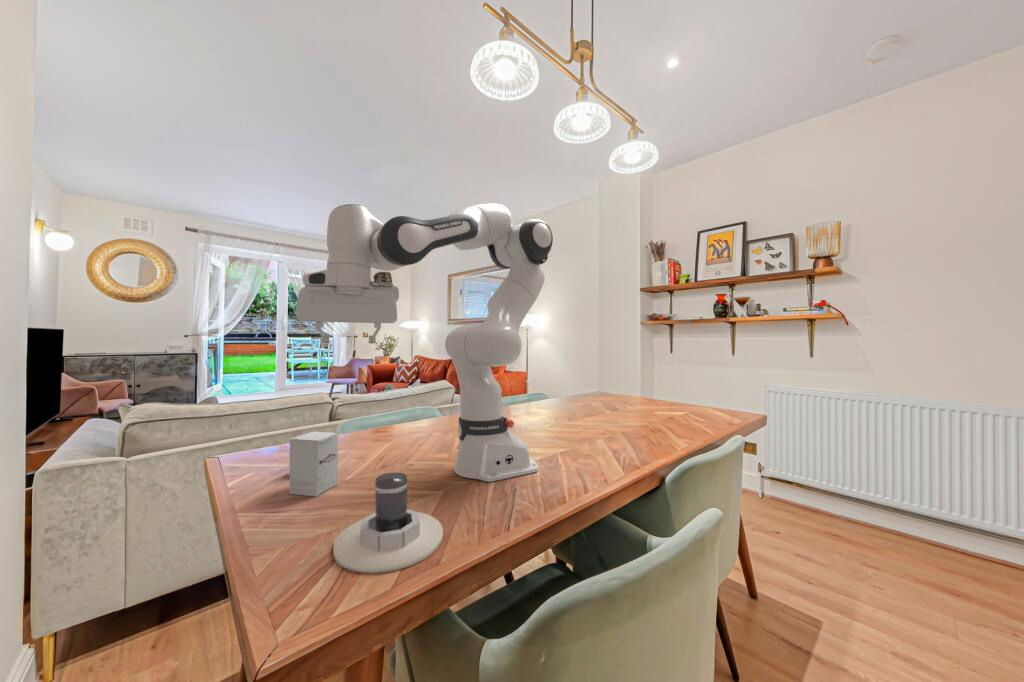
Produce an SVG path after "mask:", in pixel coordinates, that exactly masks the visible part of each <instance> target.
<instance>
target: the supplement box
mask: <svg viewBox="0 0 1024 682" xmlns="http://www.w3.org/2000/svg"><path fill="white" fill-rule="evenodd" d="M338 434H339V433H338V432H329V431H328V432H325V431H311V432H308V433H305V434H302V435H299V436H295V437H293V438H290V439H289V494H291V495H295V496H296V495H298V496H306V497H319V495H321V494H323V493H324V492H326V491H328V490H330V489H331V488H333V487H335V486H337V485H338V475H339V473H338V468H339V466H338V465H339V463H338V462H339V460H338V459H339V457H338V456H339V455H338V453H339V451H338V450H339V449H338V447H339V446H338V445H339V444H338V443H339V442H338V441H339V439H338V438H339V435H338Z"/></svg>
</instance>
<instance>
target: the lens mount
mask: <svg viewBox="0 0 1024 682" xmlns="http://www.w3.org/2000/svg"><path fill="white" fill-rule="evenodd" d="M443 537H444V529H443V525H442V523H441V522H440V521H439V520H438V519H437V518H435V517H434V516H432V515H430V514H426V513H424V512H419V511H417V510H413V509H410V508H409V509H408V508H407V525H406V526H405V527H403V528H402V529H400V530H393V531H387V532H379V531H376V511H375V512H373V513H371V514H369V515H368V516H366V517H364V518H362V519H360V520H358V521H355V522H354V523H352V524H350V525H349V526H347V527H346V528H344V529H343V530H342V531H341V532H340V533H339V534H338V535H337V536H336V538H335V539H334V543H333V548H332V549H333V552H332V553H333V558H334V560H335V562H336V563H337V564H338V565H339V566H340V567H342V568H344V569H346V570H348V571H352V572H357V573H363V574H380V573H387V572H394V571H398V570H402V569H405V568H408V567H411V566H413V565H416V564H418V563H420V562H423V560H426V559H427V558H428V557H430V556H431V555H433V553H435V552H436V551H437V550H438V548H439V547H440V545H442V542H443Z"/></svg>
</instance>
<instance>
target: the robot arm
mask: <svg viewBox="0 0 1024 682" xmlns="http://www.w3.org/2000/svg"><path fill="white" fill-rule="evenodd" d="M553 239H554V238H553V232H552V230H551V227H550V226H549V224H548V223H547V222H545V221H544V220H543V219H534V218H533V219H528V220H525V221H524V222H522V223H519V224H517V225H516V224H515V222H513V217H512V215H511V212H510V210H509V209H508V208H507V207H506V206H505V205H503V204H498V203H482V204H473V205H470V206H466V207H462V208H460V209H458V210H455V211H453V212H452V213H450V214H449V215H448V216H443V217H438V218H433V219H426V220H425V219H419V218H415V217H412V216H407V215H406V216H405V215H399V216H395V217H391V218H390V219H389V220H387V221H386V223H383V222H382V221H380V220H379V219H378V218H376V217H375V216H374V215H372V213H371V212H370V211H369V210H368V209H367V207H365V206H363V205H360V204H351V203H350V204H342V205H339V206H337V207H335V208H333V209H332V210H331V211H330V212H329V215H328V222H327V230H326V246H327V250H328V259H327V261H326V269H323V270H320V271H314V272H310V273H305V274H304V275H303V276H302V283H303V285H304V286H303V287H301V289H300V290H299V291H298V294H297V299H296V304H295V305H296V306H295V307H296V308H295V317H296V319H297V320H298V321H299V322H303V323H309V322H311V323H314V325H315V329H316V330H317V332H318V334H319V335H320V344H324V345H325V344H330V341H331V340H330V335H329V334H327V335H326V333H325V332H324V330H323V328H324V327H325V323H350V324H351V323H357V324H359V323H363V324H373V325H374V326H373V327H374V329H375V331H374V332H373V334H372V335H368V344H376V342H377V337H376V336H377V335H378V334H379V332H380V330H381V328H382V324H395V323H396V322H397V321H398V308H397V307H398V306H397V303H398V301H399V298H400V297H399V296H400V289H399V288H398V286H397V285H395V284H393V283H392V282H388V281H386V282H381V281H372V280H371V278H372V269H371V268H373V269H376V270H381V271H385V272H390V271H392V272H393V271H395V270H398V269H401V268H404V267H407V266H411V265H414V264H417V263H419V262H421V260H423V259H424V258H425V257H427V255H429V253H431V252H432V251H434V250H435V249H439V248H443V247H447V246H450V245H453V246H454V247H455V248H457V250H458V249H459V250H461V251H469V250H476V249H480V248H483V247H487V249H488V253H489V256H490V258H491V261H492V262H493V264H494V265H495V266H497V267H498V268H500V269H504V270H505V269H506V270H507V269H509V271H508V274H507V276H506V277H505V278H504V279H503V281H502V282H501V283H500V285H499V286H498V288H496V290H495V291H494V293H493V294H492V295H491V297H489V299H488V301H487V312H488V313H487V317H485V319H484V321H482V322H481V323H480V324H479V323H478V324H464V325H462V326H459V327H457V328H453V329H452V330H451V331H449V332H448V334H447V335H446V338H445V343H444V344H445V345H444V347H445V350H446V353H447V355H448V356H449V358H450V359H451V361H452V363H453V365H454V368H455V372H456V375H457V380H458V385H459V399H460V402H459V403H460V406H459V407H460V409H459V410H460V414H459V415H460V416H459V417H458V422H457V424H458V425H457V433H458V434H457V435H458V439H459V441H458V443H459V444H458V451H457V457H456V460H455V464H454V467H453V472H454V473H455V474H456V475H458V476H460V477H462V478H468V479H474V480H480V481H483V482H487V483H491V482H495V481H496V482H497V481H501V480H506V479H510V478H514V477H520V476H524V475H528V474H533V473H536V472H537V473H538V471H539V466H538V463H537V462H536V460H535V459H534V458H532V457H530V451H529V448H528V446H527V444H526V442H524V441H523V440H522V439H521V438H520V437H519V436H517V435H516V434H515V433H514V432H512V431H511V430H510V429H511V428H514V426H515V421H514V420H512V419H510V418H507V417H505V416H502V409H503V408H502V405H503V404H502V401H503V400H502V396H503V395H502V391H503V389H502V386H501V385H500V383H498V381H497V380H496V378H495V377H494V376H495V375H494V373H493V372H492V367H494V368H496V367H497V368H498V367H503V366H507V365H510V364H512V363H514V362H516V361H517V359H519V357H520V354H521V352H522V339H521V336H520V334H519V330H520V327H521V325H522V323H523V321H524V319H525V318H526V316H527V314H528V313H529V311H530V310H531V308H532V307H533V305H534V304H535V302H536V300H537V299H538V297H539V295H540V293H541V291H542V288H543V286H544V283H545V277H546V276H545V274H544V271H543V269H542V268H541V265H543V264H545V263H546V262H547V260H548V257H549V256H548V255H549V254H550V252H551V250H552V246H553V241H554V240H553ZM509 428H510V429H509Z"/></svg>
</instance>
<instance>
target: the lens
mask: <svg viewBox="0 0 1024 682" xmlns="http://www.w3.org/2000/svg"><path fill="white" fill-rule="evenodd" d="M374 491H375V492H374V493H375V512H376V531H379V532H387V531H393V530H400V529H402V528H403V527H405V526H406V525H407V509H408V497H407V494H408V477H407V474H406V473H403V472H395V471H394V472H387V473H383V474H380V475H378V476H377V477H375V484H374Z"/></svg>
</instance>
